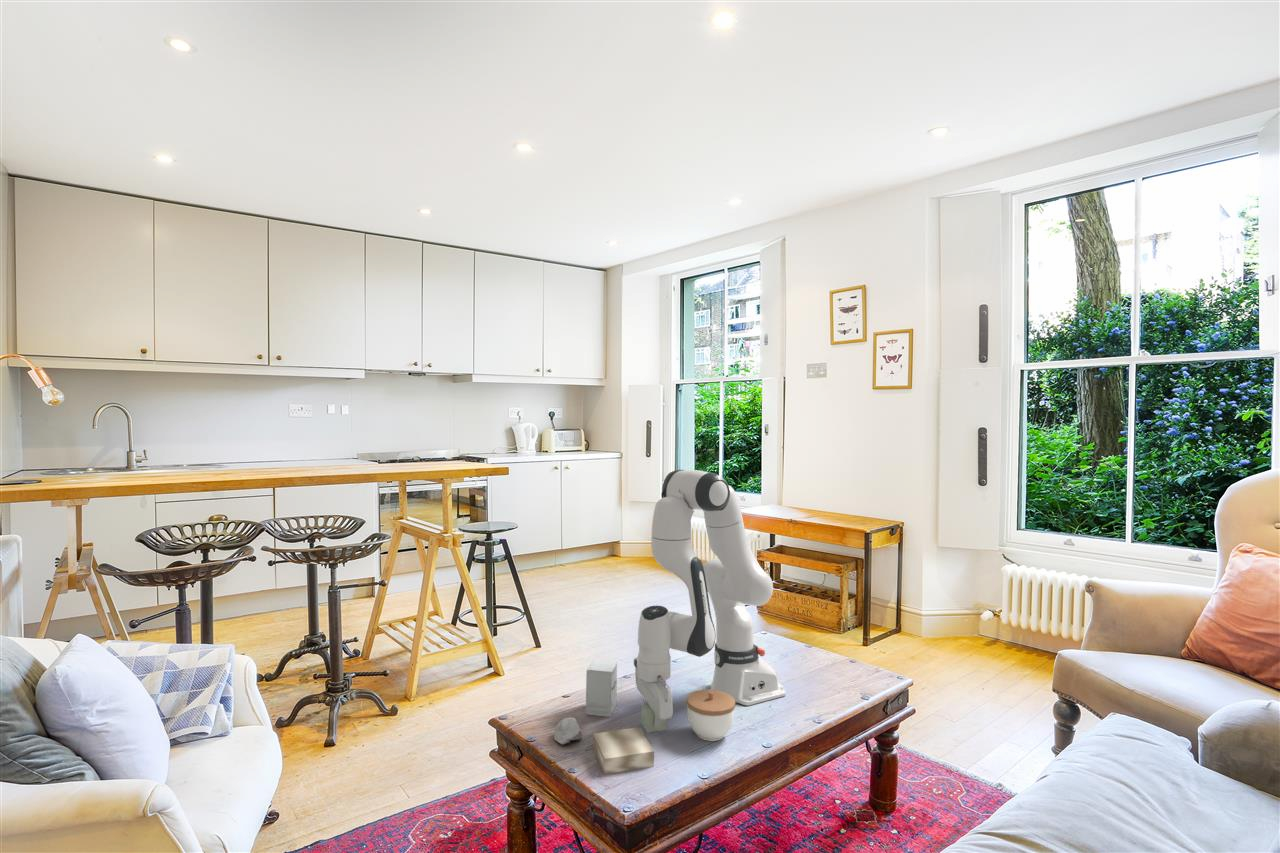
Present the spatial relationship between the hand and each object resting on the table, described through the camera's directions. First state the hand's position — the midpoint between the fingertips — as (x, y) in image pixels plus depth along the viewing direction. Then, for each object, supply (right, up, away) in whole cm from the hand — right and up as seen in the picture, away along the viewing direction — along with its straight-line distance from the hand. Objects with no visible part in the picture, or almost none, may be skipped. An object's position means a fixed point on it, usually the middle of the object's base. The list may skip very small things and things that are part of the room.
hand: (653, 720), depth 171 cm
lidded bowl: (+15, -2, -4) cm, 15 cm away
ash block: (-8, -2, -15) cm, 17 cm away
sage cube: (0, -2, 0) cm, 2 cm away
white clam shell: (-22, -2, -7) cm, 23 cm away
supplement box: (-14, -2, +9) cm, 17 cm away
